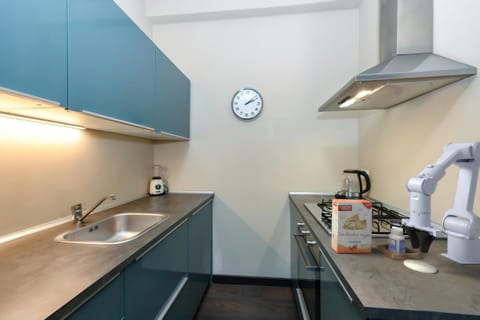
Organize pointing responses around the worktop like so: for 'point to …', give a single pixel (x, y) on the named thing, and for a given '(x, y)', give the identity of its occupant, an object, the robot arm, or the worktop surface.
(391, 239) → the pill bottle
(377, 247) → the socket block
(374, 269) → the worktop surface
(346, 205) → the cracker box
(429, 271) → the white disc
